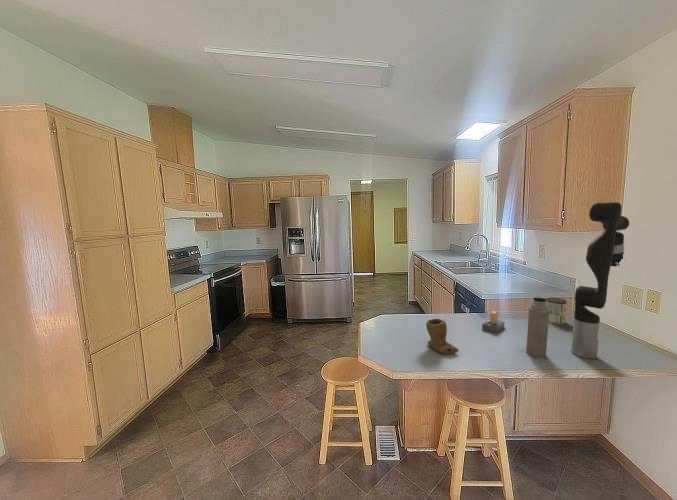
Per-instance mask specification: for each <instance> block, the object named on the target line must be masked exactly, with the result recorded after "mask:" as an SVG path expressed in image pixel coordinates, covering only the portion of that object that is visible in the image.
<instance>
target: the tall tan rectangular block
mask: <svg viewBox="0 0 677 500" xmlns="http://www.w3.org/2000/svg"><path fill="white" fill-rule="evenodd" d="M498 314H499V313H498V311H496V310H492V311H490V313H489V315H490V316H489V319H490V323H491V324H496V323H497V320H498Z"/></svg>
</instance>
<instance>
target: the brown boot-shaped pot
mask: <svg viewBox="0 0 677 500" xmlns="http://www.w3.org/2000/svg"><path fill="white" fill-rule="evenodd" d="M425 326H426V330H427V333H428V335H429V337H430V340H428V341H427V344H428V345H429V346H430V347H431V348H433V349H434V350H436V351H437V352H439V353H441V354H445V355H452V354H456V353H459V349H458V348H457V347H455V346H454V345H453V344H451V343H449V342H448V341H447V333H448V332H447V331H448V329H447V328H448V327H447V323H446V320H444V319H440V318H431V319H429V320H427V321H426V323H425Z"/></svg>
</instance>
